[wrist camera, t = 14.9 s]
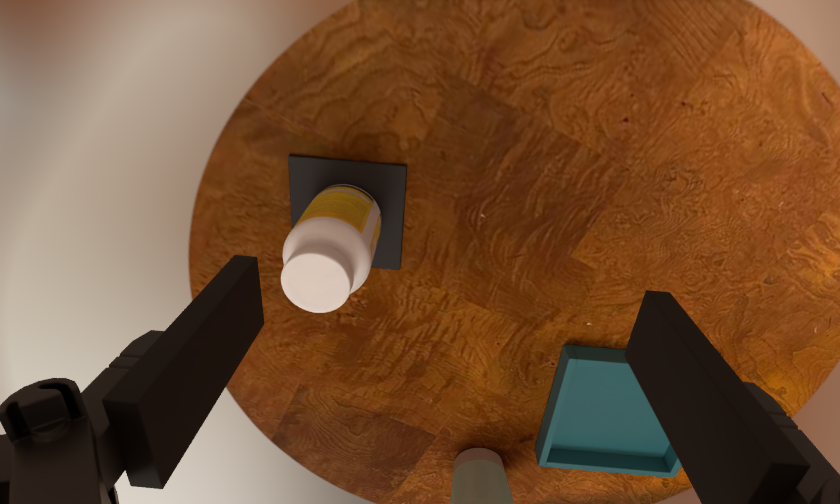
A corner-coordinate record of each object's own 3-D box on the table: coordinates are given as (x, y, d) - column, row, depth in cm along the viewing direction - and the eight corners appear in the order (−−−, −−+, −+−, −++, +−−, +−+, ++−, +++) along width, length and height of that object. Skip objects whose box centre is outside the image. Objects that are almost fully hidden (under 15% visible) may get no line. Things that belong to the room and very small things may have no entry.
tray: (716, 357, 46) (728, 372, 44) (666, 461, 53) (675, 478, 51) (563, 344, 46) (569, 358, 44) (534, 450, 53) (538, 466, 51)
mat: (406, 165, 38) (406, 166, 38) (399, 268, 43) (399, 270, 43) (289, 154, 38) (287, 156, 38) (294, 258, 43) (293, 260, 43)
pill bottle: (304, 184, 39) (255, 242, 29) (378, 179, 39) (355, 236, 28) (318, 251, 42) (278, 326, 32) (387, 247, 42) (369, 322, 31)
